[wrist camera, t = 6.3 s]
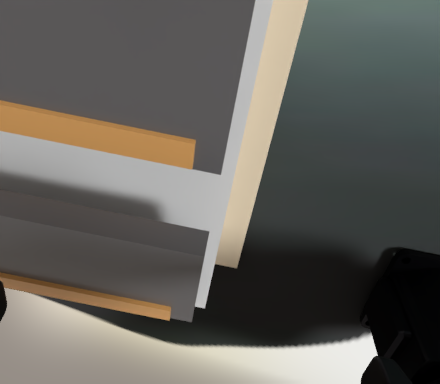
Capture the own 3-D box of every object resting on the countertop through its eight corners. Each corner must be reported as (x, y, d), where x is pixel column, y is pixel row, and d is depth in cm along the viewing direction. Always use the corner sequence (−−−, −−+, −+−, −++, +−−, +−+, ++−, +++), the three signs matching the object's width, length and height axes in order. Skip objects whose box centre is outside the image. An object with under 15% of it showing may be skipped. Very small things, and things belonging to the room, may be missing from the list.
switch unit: (418, -430, 10) (571, -820, 5) (237, 257, 23) (230, 339, 18) (-239, -564, 10) (-748, -1093, 5) (-47, 199, 23) (-134, 266, 18)
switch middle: (263, -37, 9) (258, -16, 8) (224, 154, 14) (220, 179, 13) (-242, -139, 9) (-296, -129, 8) (-99, 89, 14) (-123, 109, 13)
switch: (209, 231, 13) (203, 262, 12) (195, 301, 18) (190, 326, 17) (-133, 162, 13) (-160, 189, 12) (-51, 252, 18) (-67, 274, 17)
